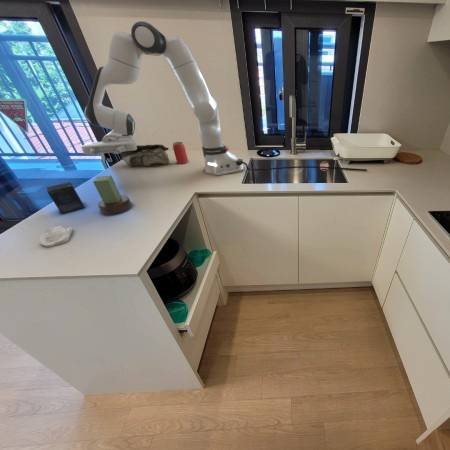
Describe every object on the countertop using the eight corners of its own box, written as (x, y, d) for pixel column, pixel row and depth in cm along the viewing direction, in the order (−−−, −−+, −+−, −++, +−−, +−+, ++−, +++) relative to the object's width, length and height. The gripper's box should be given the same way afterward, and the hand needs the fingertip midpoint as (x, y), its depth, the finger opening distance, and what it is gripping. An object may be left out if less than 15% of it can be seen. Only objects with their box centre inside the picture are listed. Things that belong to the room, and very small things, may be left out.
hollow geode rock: (124, 174, 148) (110, 162, 134) (123, 155, 150) (109, 142, 136) (173, 168, 154) (165, 157, 140) (171, 150, 156) (162, 137, 142)
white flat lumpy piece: (76, 224, 86) (43, 239, 78) (82, 234, 88) (51, 250, 81) (60, 218, 89) (26, 232, 82) (66, 228, 92) (34, 242, 84)
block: (121, 197, 105) (111, 175, 99) (118, 202, 101) (107, 180, 95) (107, 198, 103) (97, 176, 98) (104, 204, 99) (92, 181, 94)
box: (83, 203, 108) (70, 181, 102) (84, 208, 104) (72, 185, 98) (60, 209, 103) (46, 186, 97) (61, 214, 100) (46, 191, 94)
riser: (134, 201, 110) (131, 193, 108) (129, 212, 101) (125, 204, 99) (106, 204, 107) (102, 196, 105) (98, 217, 98) (93, 208, 96)
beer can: (190, 160, 155) (185, 141, 149) (185, 164, 150) (180, 144, 143) (180, 160, 156) (175, 141, 149) (175, 163, 151) (169, 144, 144)
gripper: (84, 138, 109) (72, 146, 98) (135, 134, 115) (129, 142, 104) (91, 152, 113) (80, 161, 102) (140, 148, 118) (135, 156, 107)
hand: (105, 152), depth 103 cm, fingers open, 8 cm apart
